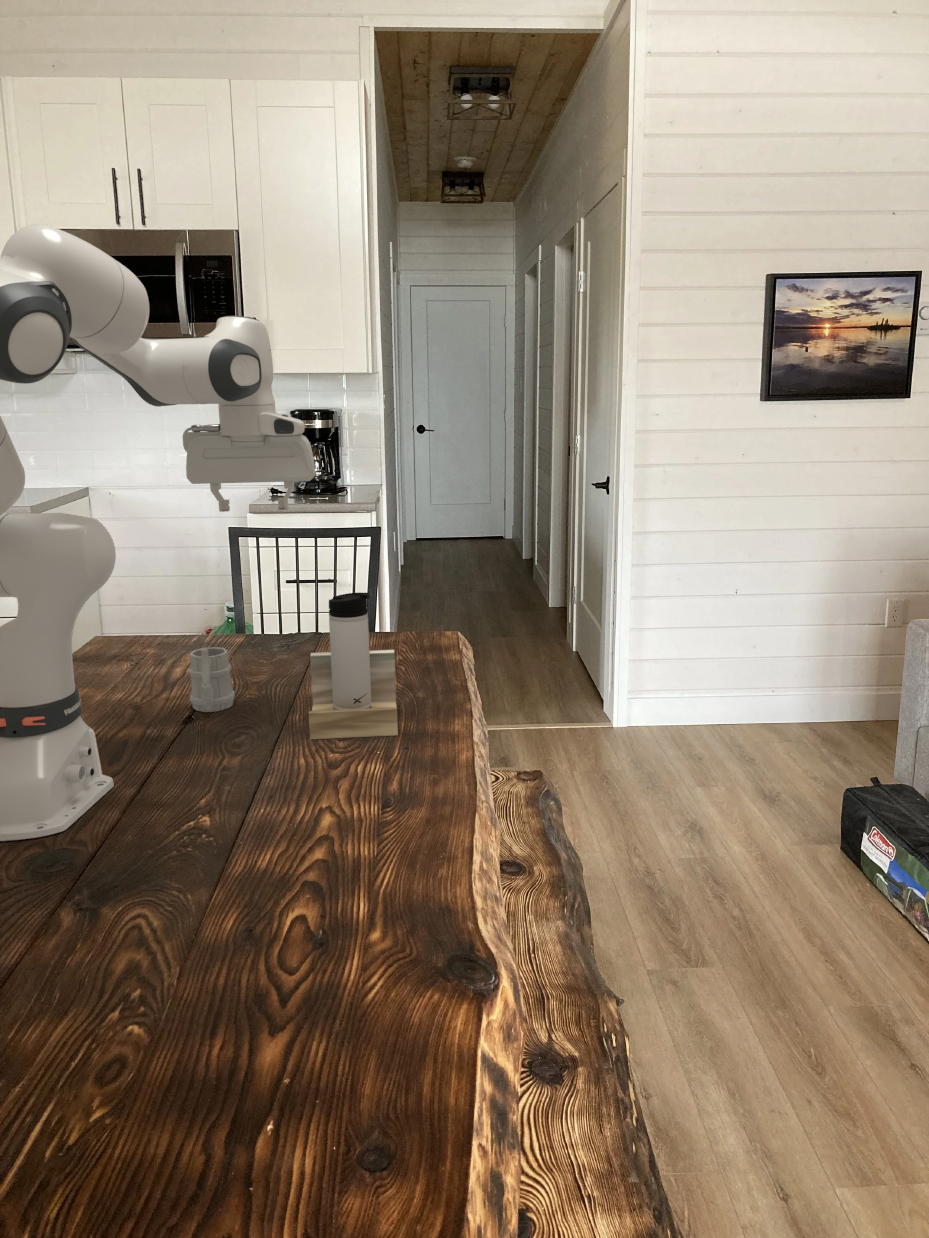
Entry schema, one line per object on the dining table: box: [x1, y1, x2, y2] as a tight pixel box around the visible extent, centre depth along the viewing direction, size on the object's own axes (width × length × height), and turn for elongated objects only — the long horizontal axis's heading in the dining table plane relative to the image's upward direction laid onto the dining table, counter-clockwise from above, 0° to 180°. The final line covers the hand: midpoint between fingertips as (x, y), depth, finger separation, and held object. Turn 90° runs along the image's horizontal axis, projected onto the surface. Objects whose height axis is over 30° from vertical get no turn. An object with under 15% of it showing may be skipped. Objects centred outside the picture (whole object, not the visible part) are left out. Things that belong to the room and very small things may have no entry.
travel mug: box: [328, 592, 372, 710], centre depth 154 cm, size 6×7×20 cm
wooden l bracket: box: [308, 649, 399, 740], centre depth 156 cm, size 12×14×11 cm
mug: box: [188, 646, 236, 713], centre depth 164 cm, size 8×12×12 cm, turn 9°
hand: (254, 510), depth 154 cm, fingers open, 8 cm apart
